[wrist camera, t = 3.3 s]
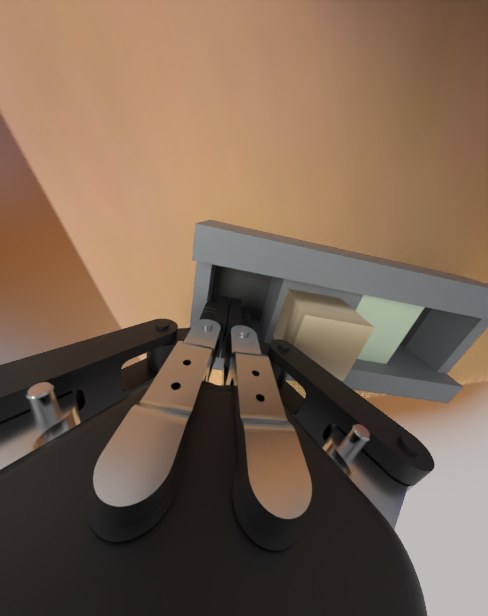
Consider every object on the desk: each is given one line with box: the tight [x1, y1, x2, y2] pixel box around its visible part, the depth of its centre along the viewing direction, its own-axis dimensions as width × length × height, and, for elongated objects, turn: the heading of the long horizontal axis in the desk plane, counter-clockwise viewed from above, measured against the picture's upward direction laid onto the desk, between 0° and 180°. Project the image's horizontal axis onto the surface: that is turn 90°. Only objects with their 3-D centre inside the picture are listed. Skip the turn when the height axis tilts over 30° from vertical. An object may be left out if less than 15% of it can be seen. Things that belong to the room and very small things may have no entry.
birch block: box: [273, 288, 375, 381], centre depth 13 cm, size 4×4×4 cm
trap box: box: [190, 220, 488, 403], centre depth 16 cm, size 10×23×6 cm, turn 78°
